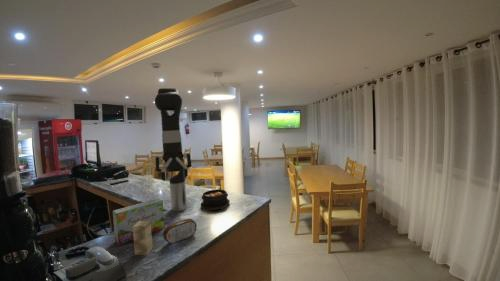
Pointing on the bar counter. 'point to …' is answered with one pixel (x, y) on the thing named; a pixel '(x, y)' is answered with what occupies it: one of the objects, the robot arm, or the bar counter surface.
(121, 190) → the bar counter surface
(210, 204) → the casserole
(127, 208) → the snack box
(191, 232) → the tin
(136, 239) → the beech block
